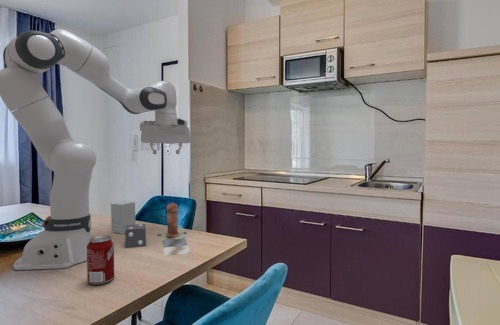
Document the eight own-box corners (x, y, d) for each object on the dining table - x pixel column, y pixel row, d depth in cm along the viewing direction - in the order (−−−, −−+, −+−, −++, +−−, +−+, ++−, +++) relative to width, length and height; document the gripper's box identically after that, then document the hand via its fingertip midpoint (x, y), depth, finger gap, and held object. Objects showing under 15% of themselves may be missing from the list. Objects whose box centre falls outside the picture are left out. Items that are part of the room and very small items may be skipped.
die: (125, 248, 112) (125, 229, 112) (126, 243, 119) (126, 224, 118) (145, 247, 114) (145, 228, 114) (145, 241, 121) (145, 223, 121)
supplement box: (136, 230, 137) (135, 202, 136) (121, 234, 130) (120, 204, 130) (125, 227, 141) (125, 200, 140) (110, 231, 134) (110, 203, 134)
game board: (159, 257, 103) (159, 256, 103) (157, 234, 130) (157, 234, 130) (195, 253, 107) (195, 253, 107) (186, 232, 134) (186, 231, 134)
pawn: (166, 238, 124) (166, 204, 123) (165, 235, 129) (165, 202, 128) (179, 237, 125) (179, 203, 125) (178, 233, 130) (178, 201, 130)
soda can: (103, 287, 82) (102, 242, 81) (81, 284, 83) (80, 241, 82) (119, 276, 88) (118, 235, 88) (98, 274, 90) (97, 234, 89)
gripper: (139, 119, 123) (139, 154, 124) (191, 121, 129) (191, 154, 130) (139, 121, 129) (140, 154, 130) (189, 122, 135) (189, 153, 136)
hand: (166, 154), depth 130 cm, fingers open, 8 cm apart
